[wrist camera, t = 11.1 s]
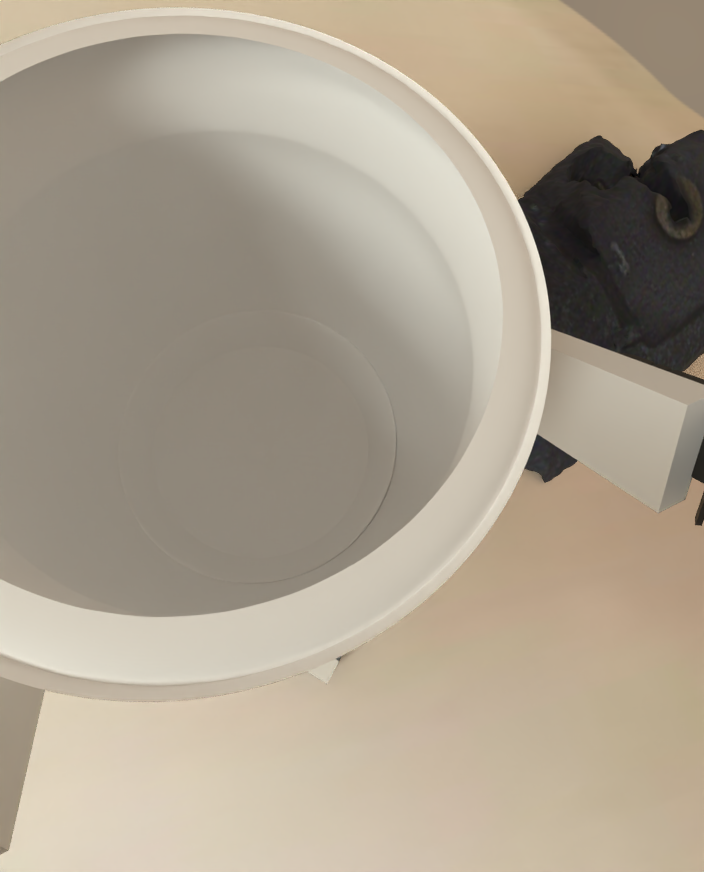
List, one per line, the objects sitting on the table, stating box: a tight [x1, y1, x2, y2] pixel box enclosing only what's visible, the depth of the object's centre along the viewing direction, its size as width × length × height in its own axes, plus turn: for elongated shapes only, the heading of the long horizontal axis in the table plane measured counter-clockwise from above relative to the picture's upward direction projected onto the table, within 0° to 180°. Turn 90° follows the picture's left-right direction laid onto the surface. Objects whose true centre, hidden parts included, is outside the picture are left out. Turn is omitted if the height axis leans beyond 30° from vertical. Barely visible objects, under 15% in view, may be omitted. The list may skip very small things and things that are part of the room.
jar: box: [0, 7, 551, 702], centre depth 13 cm, size 11×10×15 cm
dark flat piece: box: [518, 130, 704, 482], centre depth 24 cm, size 15×22×5 cm
